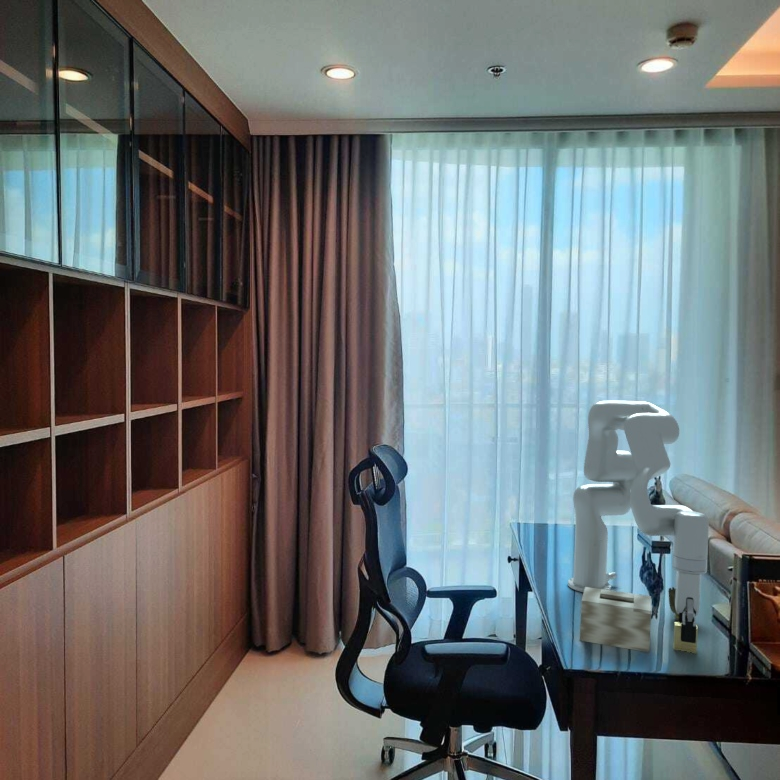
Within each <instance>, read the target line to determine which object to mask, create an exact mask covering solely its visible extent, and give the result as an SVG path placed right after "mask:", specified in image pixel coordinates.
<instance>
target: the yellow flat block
mask: <svg viewBox="0 0 780 780" xmlns="http://www.w3.org/2000/svg"><path fill="white" fill-rule="evenodd" d="M673 624H674V626H673V642H672V643H673V644H672V646H673V650H674V651H678V650H681V651H680V652H684V651H687V652H686V653H690V652H692V654H697V653H698V652H697V649H698V648H697V647H698V635H699V634H698V633H699V632H698V630H699V629H698V624H696V643H689V642H683V641H681V624H683V623H680V622H679V621H674V623H673Z"/></svg>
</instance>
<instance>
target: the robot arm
mask: <svg viewBox="0 0 780 780" xmlns="http://www.w3.org/2000/svg"><path fill="white" fill-rule="evenodd" d="M587 426H588V439H587V446H586V451H585V457H584V463H583V464H584V465H583V473H584V476H585V478H586V480H588V481H589V482H594V483H588V484H587V483H586V484H582V485H580V486H578V487H577V488H576V489H575V490H574V492H573V497H572V501H573V507H574V508H573V509H574V514H575V515H574V516H575V519H574V521H575V526H574V527H575V530H574V531H575V532H574V554H573V555H574V556H573V574H572V575H573V577H571V578H569V579H568V580H567V586H568V587H569V588H571V589H572V590H574V591H576V592H581V593H584V590H585V587H590V588H597V589H604V590H611V591H612V586H611V584H610V583H609V581H610V580H616V578H618V576H617V573H616V572H615V571H614V572H609V573H608V572H607V565H608V564H607V562H608V543H609V542H608V540H609V531H608V527H607V525H606V524H605V522H604V521H603V519H602V517H605V516H609V517H610V516H624V515H626V514H627V513H629V512H630V510H631V512H632V515H633V518H634V521H635V523H636V526H637V528H638V530H639V532H641V533H642V534H644V535H646V536H649V537H659V536H660V537H662V536H663V537H664V536H665V537H666V536H673V543H672V544H673V545H672V546H673V547H672V548H673V549H672V550H673V551H672V569H673V570H675V571H676V576H675V589H676V590H675V609H676V612H677V613H679V621H678V622H680V623H683V624H681V641H683V642H689V643H696V625H697V621H696V618H697V616H698V615H699V611H700V605H701V604H700V602H701V588H702V586H701V585H702V575H704V574H707V571H708V555H709V554H708V553H709V552H708V551H709V548H708V547H709V529H710V528H709V526H710V523H709V522H710V521H709V517H708V516H707V515H706V514H705V513H702V512H698V511H695V510H692V509H691V508H690V507H688V506H686V505H682V504H651V503H652V502H651V499H650V496H649V494H648V493H649V492H648V487H649V486H648V485H649V482H650V481H651V480H653V479H655V478H657V477H659V476H661V475H663V474H665V473H666V472H667V471H668V470H669V469H670V468H671V462H670V458H669V456H668V453H667V450H666V447H665V445H672V444H674V443H676V442H677V440H678V439H679V436H680V427H679V423H678V421H677V420H676V418H675V417H674V416H673V415H672V414H671V413H670V412H668V411H666V410H665V409H662V408H660V407H658V406H656V405H655V404H653V403H651V402H647V401H639V400H638V401H637V400H602V401H601V400H600V401H597V402H595V403H594V404H593V405H592V406H590V409H589V411H588V415H587ZM617 431H623V432H624V434H625V438H626V441H627V445H628V448H629V451H628V450H618V445H619V437H618V433H617Z"/></svg>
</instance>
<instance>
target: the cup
mask: <svg viewBox="0 0 780 780" xmlns="http://www.w3.org/2000/svg"><path fill="white" fill-rule="evenodd" d="M675 590H676V587H674V586H672V588H671V587H669V588H668V603H669V609H670V610H671V612H672V613H673V614H674V619H675V620H676V621H677V622H679V613H677V612H676V609H675Z"/></svg>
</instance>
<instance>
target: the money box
mask: <svg viewBox="0 0 780 780" xmlns="http://www.w3.org/2000/svg"><path fill="white" fill-rule="evenodd" d="M582 593H583V594H582V597H581V605H580V606H581V607H580V623H579V624H580V627H579V641H581V642H587V643H594V644H598V645H605V646H610V647H615V648H621V649H628V650H634V651H641V652H645V653H650V646H651V645H650V644H651V628H652V626H651V625H652V624H651V623H652V596H651V595H645V594H638V593H631V592H625V591H617V590H612V589H611V590H604V589H597V588H590V587H585V590H584V592H582Z"/></svg>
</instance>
